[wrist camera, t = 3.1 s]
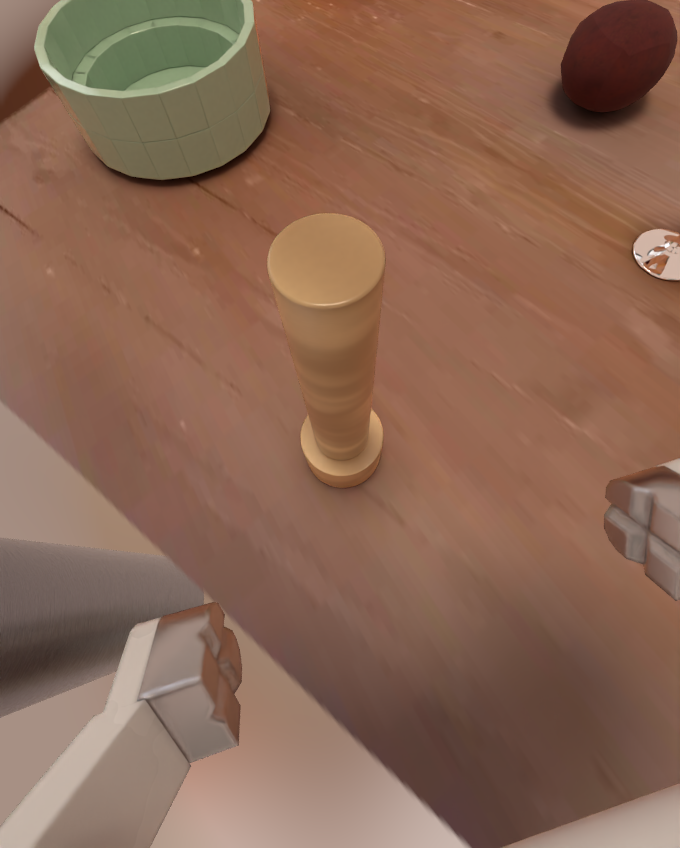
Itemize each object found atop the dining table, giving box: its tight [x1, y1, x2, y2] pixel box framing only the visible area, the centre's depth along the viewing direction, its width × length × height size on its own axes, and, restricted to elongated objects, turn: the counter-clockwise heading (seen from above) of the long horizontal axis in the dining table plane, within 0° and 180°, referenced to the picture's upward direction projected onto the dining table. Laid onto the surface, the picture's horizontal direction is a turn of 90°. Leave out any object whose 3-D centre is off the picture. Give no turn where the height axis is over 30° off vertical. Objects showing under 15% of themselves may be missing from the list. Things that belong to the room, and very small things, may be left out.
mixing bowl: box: [34, 0, 270, 180], centre depth 32 cm, size 15×15×6 cm
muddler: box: [267, 213, 386, 488], centre depth 17 cm, size 4×4×16 cm
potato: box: [561, 0, 677, 112], centre depth 32 cm, size 7×8×6 cm
